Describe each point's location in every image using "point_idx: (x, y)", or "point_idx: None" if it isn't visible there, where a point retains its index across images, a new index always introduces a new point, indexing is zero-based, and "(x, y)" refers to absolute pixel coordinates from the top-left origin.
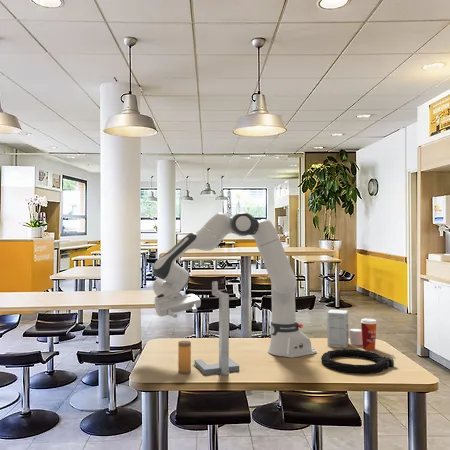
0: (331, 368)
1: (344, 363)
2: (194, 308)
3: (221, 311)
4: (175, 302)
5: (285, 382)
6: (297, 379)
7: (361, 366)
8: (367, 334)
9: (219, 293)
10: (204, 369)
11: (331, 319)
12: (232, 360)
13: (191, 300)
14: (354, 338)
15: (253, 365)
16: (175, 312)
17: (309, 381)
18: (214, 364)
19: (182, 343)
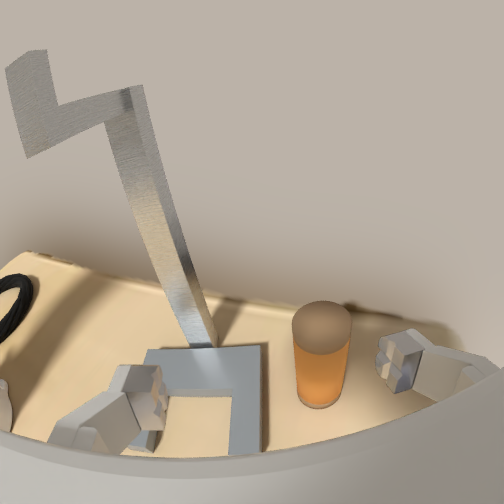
0: (28, 305)
1: (22, 285)
2: (140, 371)
3: (158, 153)
4: None
5: (127, 278)
6: (101, 285)
7: (22, 275)
8: None
9: (117, 91)
10: (259, 346)
11: None
12: None
13: (36, 478)
14: None
15: (97, 380)
16: (401, 349)
17: (96, 275)
18: (207, 382)
19: (334, 306)
